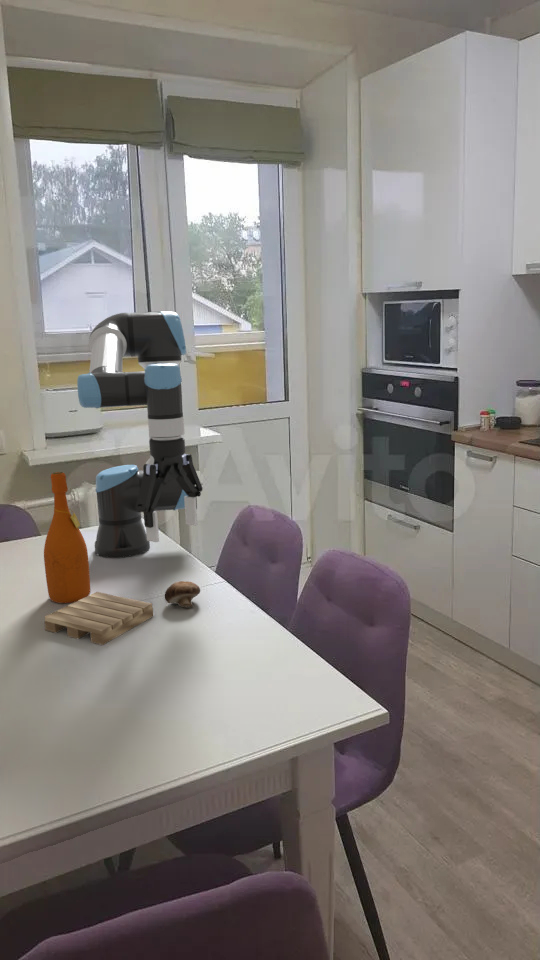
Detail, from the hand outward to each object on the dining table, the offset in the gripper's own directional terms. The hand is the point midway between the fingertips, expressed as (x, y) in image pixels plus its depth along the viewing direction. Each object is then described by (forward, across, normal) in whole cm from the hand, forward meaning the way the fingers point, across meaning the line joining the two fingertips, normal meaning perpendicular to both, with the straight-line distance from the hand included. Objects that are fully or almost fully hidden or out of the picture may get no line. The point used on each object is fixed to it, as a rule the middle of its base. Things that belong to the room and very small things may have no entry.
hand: (172, 532), depth 163 cm
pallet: (+17, +15, -9) cm, 25 cm away
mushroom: (+17, -1, +1) cm, 17 cm away
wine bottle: (+17, +7, -26) cm, 32 cm away
